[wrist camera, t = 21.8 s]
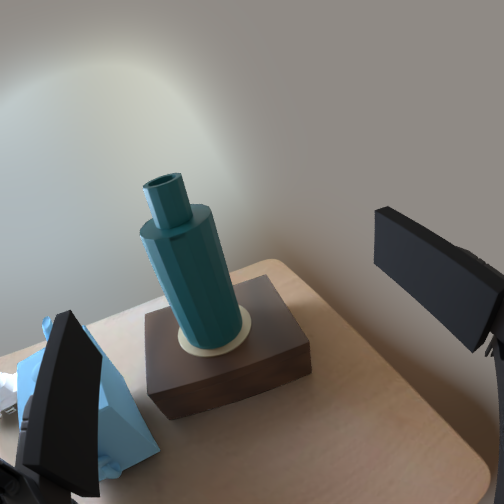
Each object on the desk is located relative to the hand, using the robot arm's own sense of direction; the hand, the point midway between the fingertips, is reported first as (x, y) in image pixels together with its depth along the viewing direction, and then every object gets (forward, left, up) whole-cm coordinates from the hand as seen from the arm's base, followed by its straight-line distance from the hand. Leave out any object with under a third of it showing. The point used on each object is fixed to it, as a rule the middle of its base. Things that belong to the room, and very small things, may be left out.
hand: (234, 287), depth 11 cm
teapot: (+20, -11, -23) cm, 33 cm away
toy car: (+41, -18, -23) cm, 51 cm away
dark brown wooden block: (+2, -17, -23) cm, 29 cm away
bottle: (+2, -17, -17) cm, 24 cm away
